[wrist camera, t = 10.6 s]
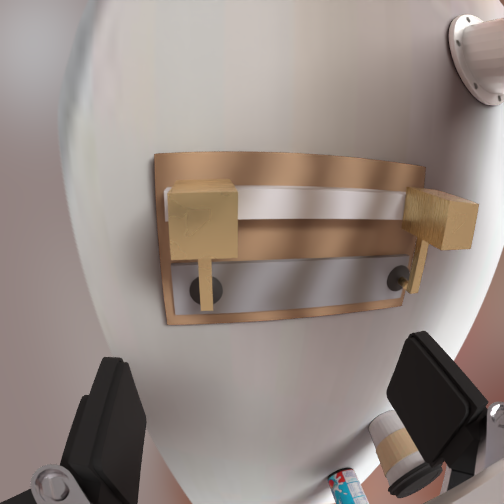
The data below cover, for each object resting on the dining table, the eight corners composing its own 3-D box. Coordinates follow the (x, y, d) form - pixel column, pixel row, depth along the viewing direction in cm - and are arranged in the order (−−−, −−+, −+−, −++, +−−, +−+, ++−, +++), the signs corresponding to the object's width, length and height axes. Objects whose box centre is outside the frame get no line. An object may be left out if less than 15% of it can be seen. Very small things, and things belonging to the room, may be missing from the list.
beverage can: (325, 473, 48) (347, 531, 34) (353, 463, 48) (378, 519, 34) (327, 483, 50) (347, 536, 36) (353, 473, 50) (376, 525, 36)
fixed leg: (431, 188, 26) (478, 204, 20) (414, 282, 30) (452, 313, 24) (401, 185, 26) (449, 200, 19) (385, 285, 29) (422, 320, 23)
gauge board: (418, 165, 28) (437, 169, 25) (396, 301, 34) (410, 314, 31) (156, 153, 24) (150, 155, 21) (168, 318, 30) (165, 336, 27)
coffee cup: (364, 443, 45) (395, 504, 31) (353, 423, 42) (389, 495, 28) (408, 417, 45) (445, 474, 31) (403, 394, 41) (448, 458, 27)
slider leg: (228, 177, 24) (238, 191, 17) (229, 297, 27) (237, 344, 21) (177, 178, 23) (167, 193, 17) (184, 298, 27) (180, 346, 20)
